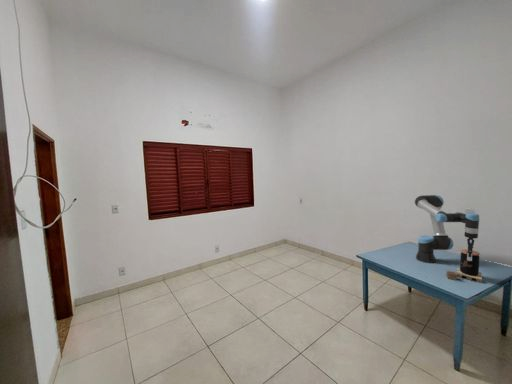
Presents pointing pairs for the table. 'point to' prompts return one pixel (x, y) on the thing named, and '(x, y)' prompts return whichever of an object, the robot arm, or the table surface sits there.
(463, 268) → the coffee jar
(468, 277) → the pallet dock
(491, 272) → the table surface
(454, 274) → the cargo block
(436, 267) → the table surface
